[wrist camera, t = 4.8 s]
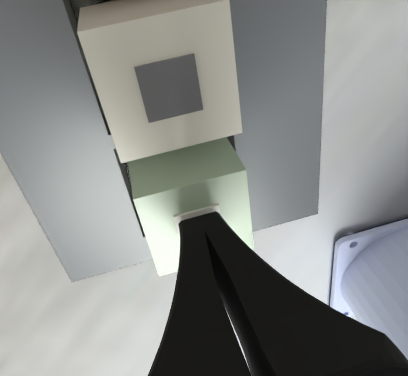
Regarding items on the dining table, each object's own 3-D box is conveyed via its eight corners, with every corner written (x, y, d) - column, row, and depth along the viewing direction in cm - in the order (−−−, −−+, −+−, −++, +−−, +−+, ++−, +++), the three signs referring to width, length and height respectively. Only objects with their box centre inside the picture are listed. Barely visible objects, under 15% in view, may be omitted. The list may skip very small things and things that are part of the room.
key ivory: (202, -18, 12) (230, -1, 10) (217, 96, 14) (243, 133, 12) (79, 7, 12) (77, 32, 9) (116, 120, 14) (121, 164, 11)
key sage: (221, 129, 15) (246, 171, 13) (232, 203, 17) (254, 250, 15) (126, 153, 15) (133, 201, 12) (149, 225, 17) (159, 278, 15)
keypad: (306, -388, 9) (345, -442, 8) (301, 192, 20) (317, 213, 19) (-225, -325, 8) (-292, -375, 7) (73, 254, 19) (71, 282, 18)
